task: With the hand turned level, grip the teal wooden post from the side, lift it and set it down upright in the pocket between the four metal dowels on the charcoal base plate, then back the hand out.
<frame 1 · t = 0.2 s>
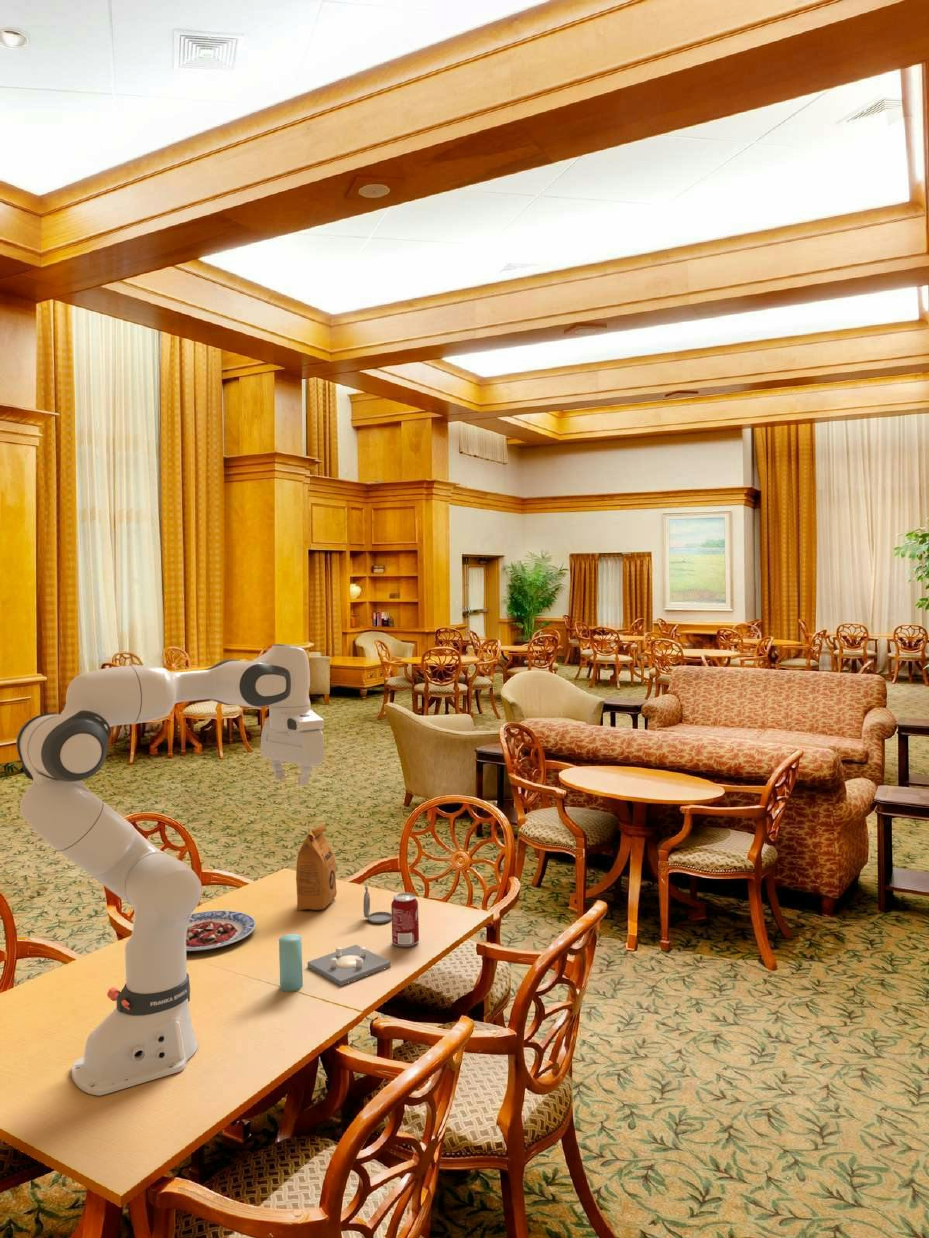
hand: (291, 782, 182), 48 cm above the table, tool pointing down, fingers open, 8 cm apart
coffee package: (317, 905, 240), on the table
ceramic plate: (205, 937, 219), on the table
pocket watch: (375, 920, 228), on the table
teal post: (291, 986, 190), on the table
dowel seat: (348, 966, 199), on the table
soda can: (405, 943, 212), on the table
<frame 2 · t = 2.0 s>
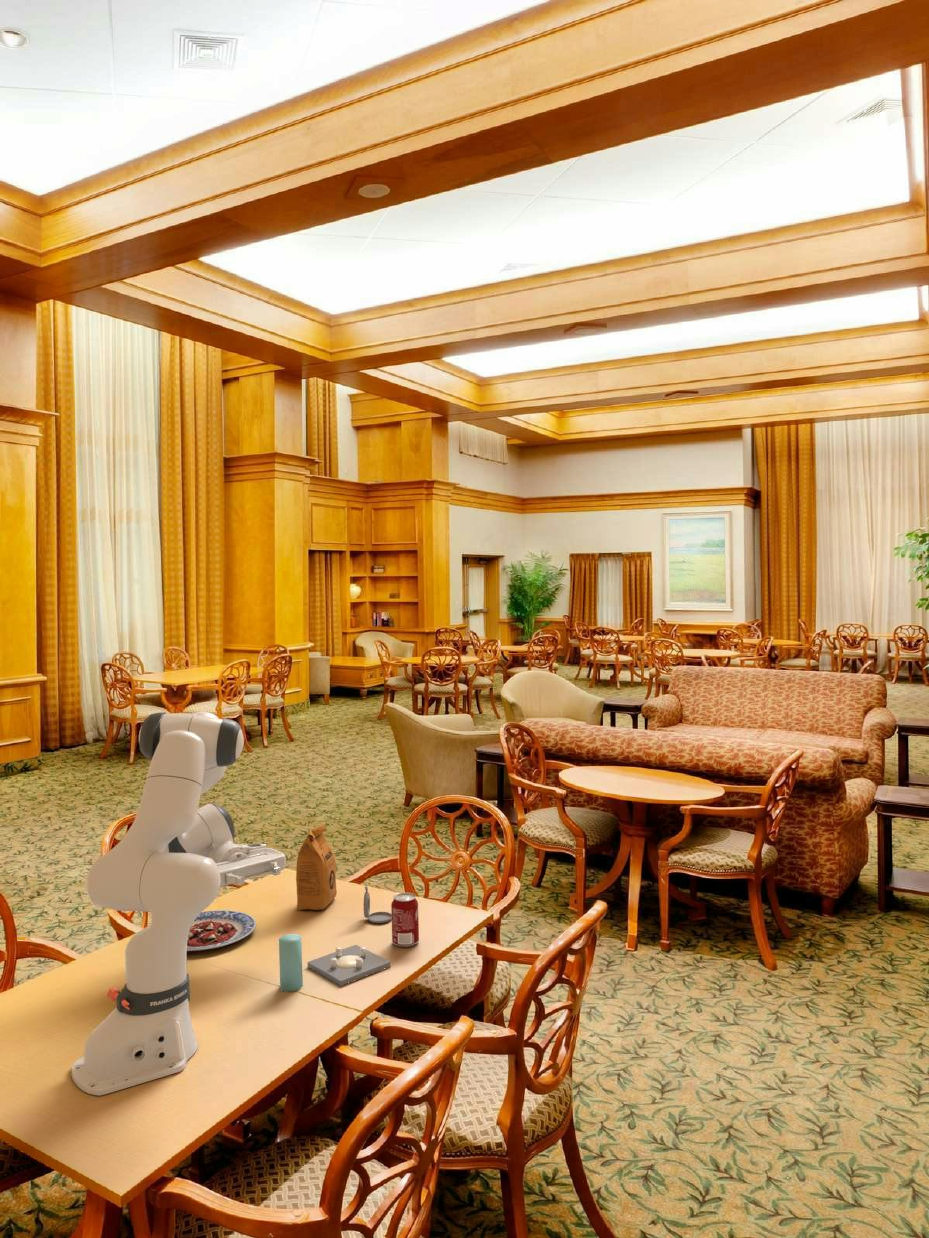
hand: (260, 876, 199), 22 cm above the table, tool horizontal, fingers open, 8 cm apart
nothing on the table moved.
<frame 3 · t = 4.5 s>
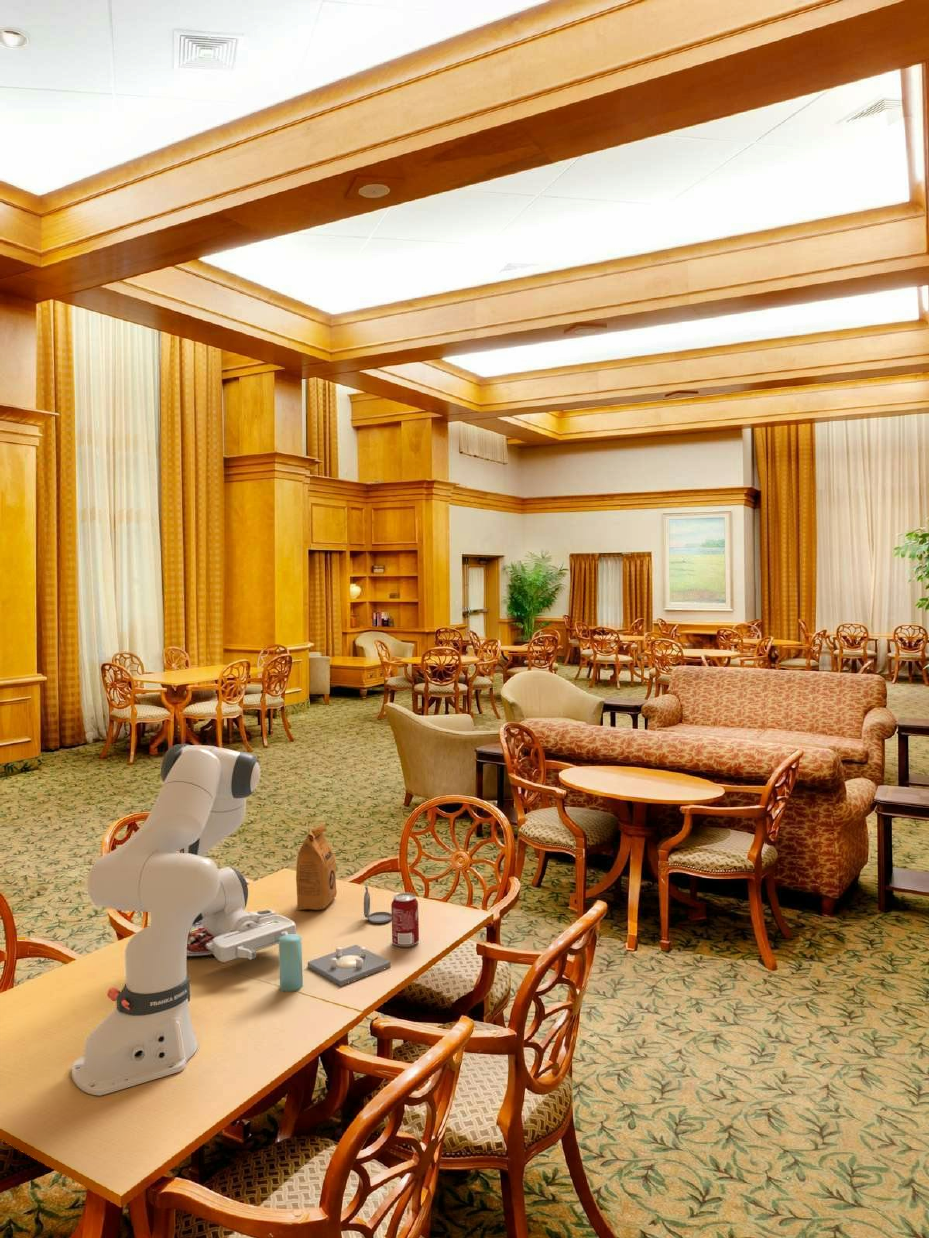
hand: (271, 948, 196), 6 cm above the table, tool horizontal, fingers open, 8 cm apart
ceramic plate: (208, 942, 217), on the table, touching arm
everything else where it was.
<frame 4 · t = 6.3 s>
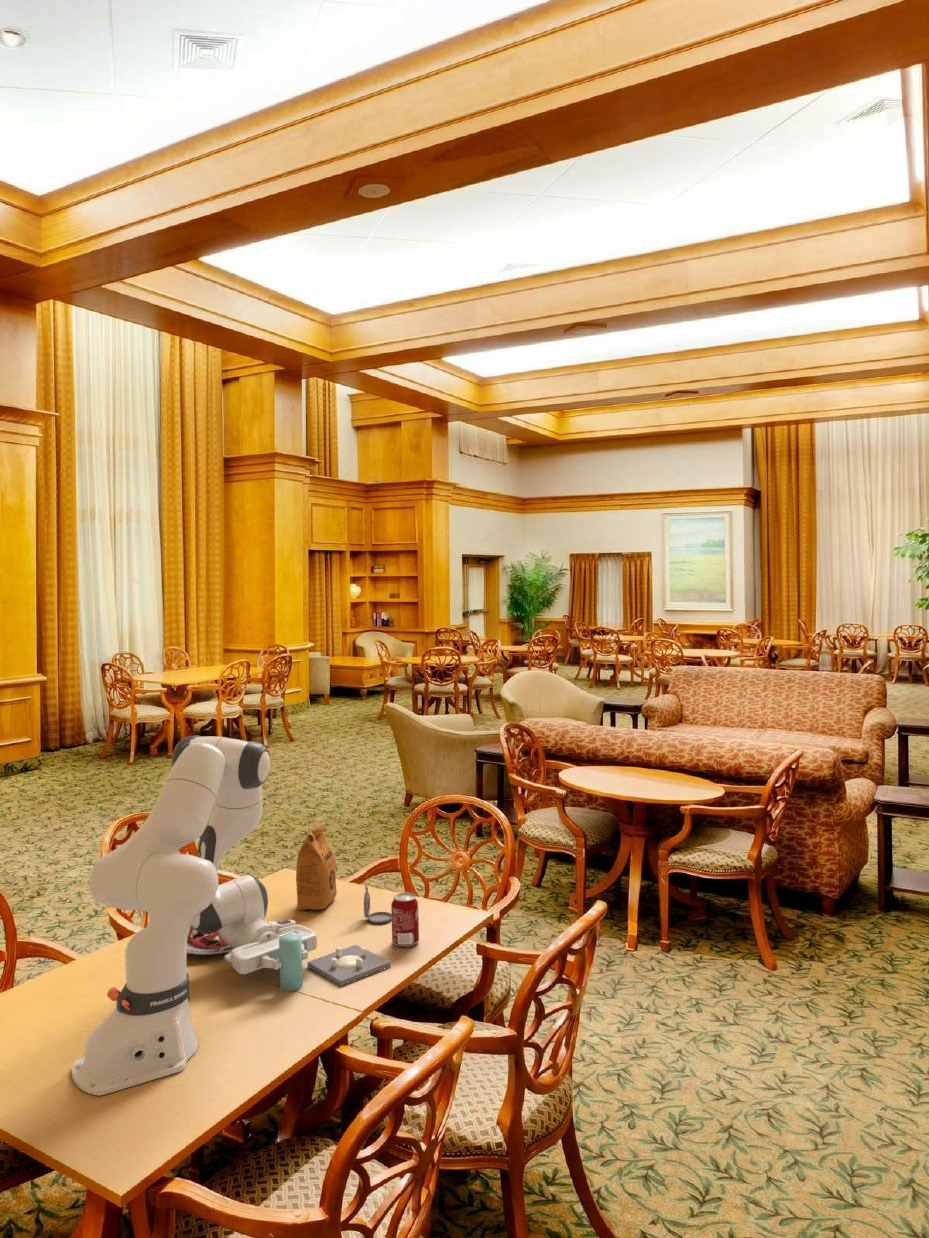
hand: (292, 960, 189), 6 cm above the table, tool horizontal, fingers open, 5 cm apart
ceramic plate: (209, 935, 216), point 1 cm above the table, touching arm
teal post: (291, 986, 190), on the table, touching gripper
everything else where it was.
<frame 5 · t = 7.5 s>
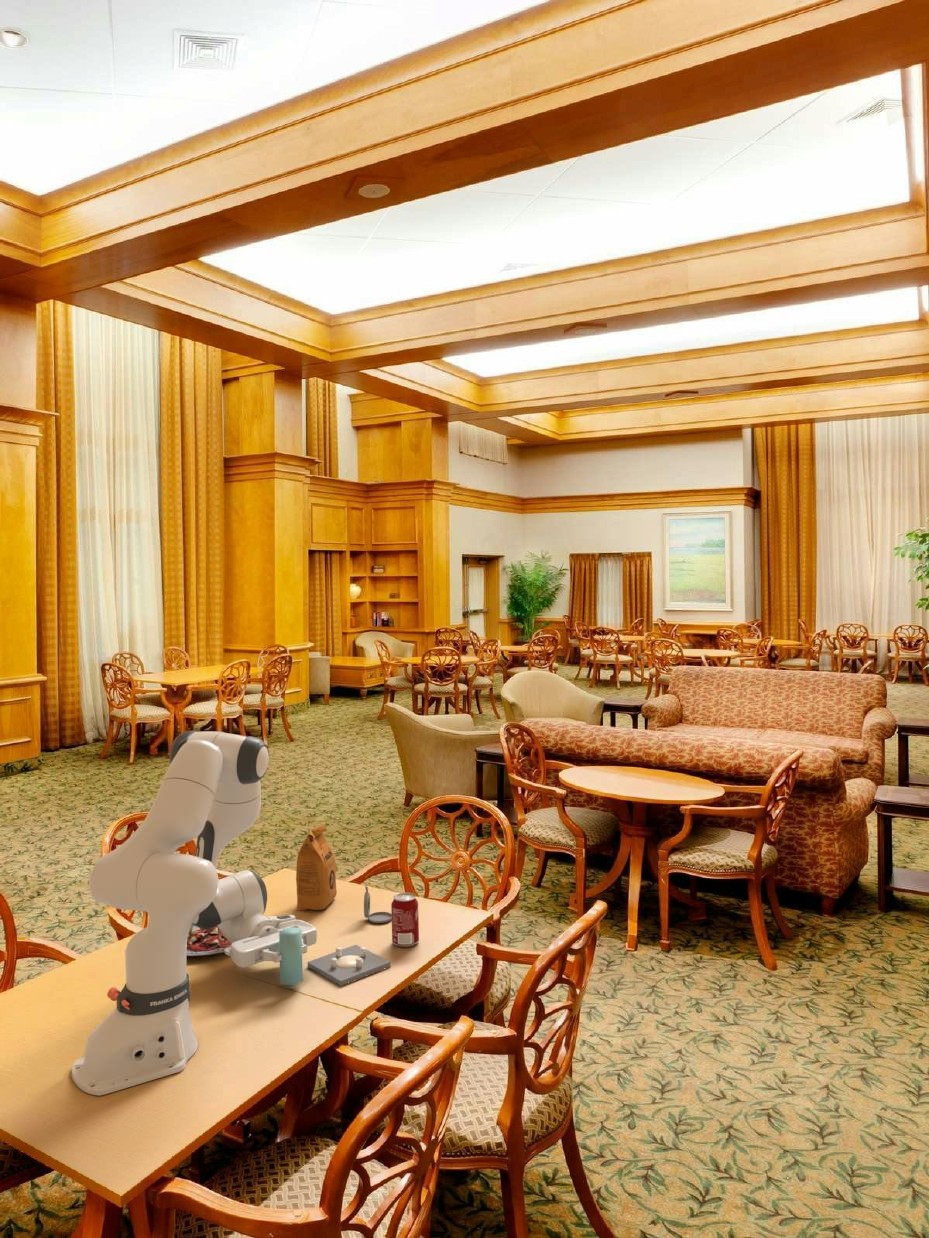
hand: (292, 954, 188), 8 cm above the table, tool horizontal, fingers closed on teal post, 5 cm apart
ceramic plate: (209, 942, 216), on the table
teal post: (291, 980, 189), point 2 cm above the table, touching gripper
everything else where it was.
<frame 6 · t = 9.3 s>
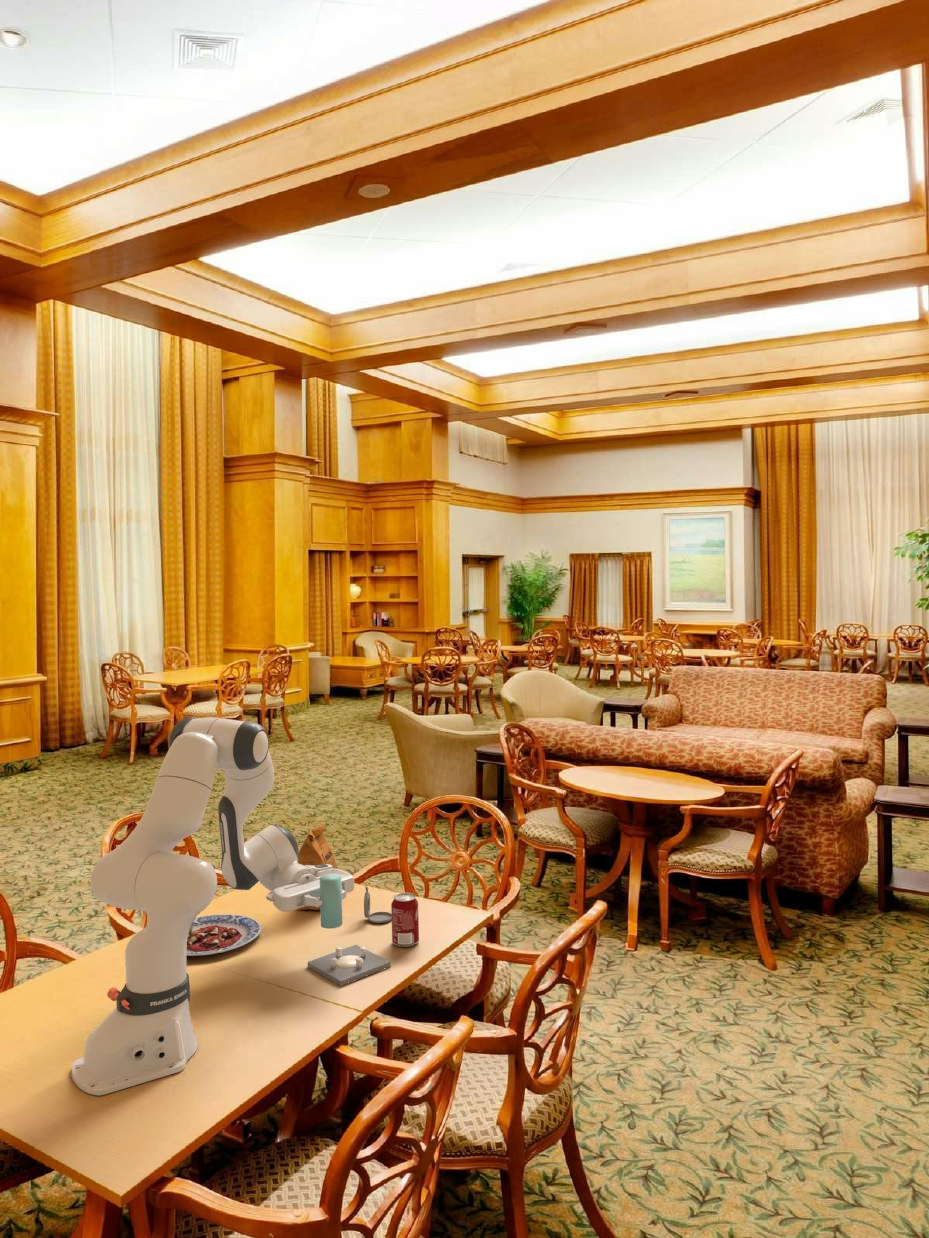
hand: (332, 899, 195), 17 cm above the table, tool horizontal, fingers closed on teal post, 5 cm apart
teal post: (331, 924, 196), point 11 cm above the table, touching gripper
everything else where it was.
when the fingers open (8 cm above the table, at t = 12.2 s): teal post drops 1 cm, resting on dowel seat.
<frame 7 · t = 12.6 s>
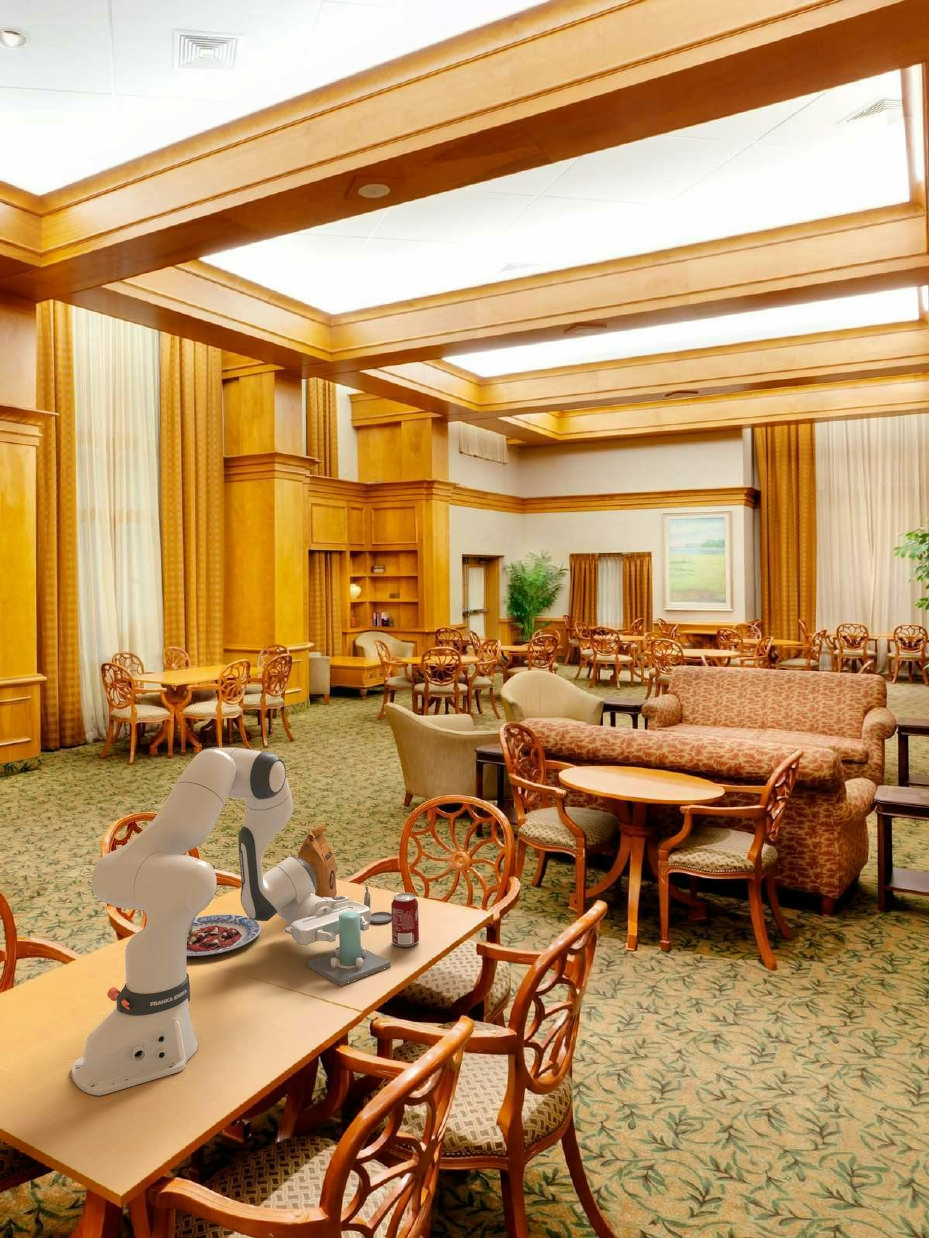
hand: (350, 932, 198), 8 cm above the table, tool horizontal, fingers open, 8 cm apart
teal post: (350, 961, 199), point 1 cm above the table, touching dowel seat
everything else where it was.
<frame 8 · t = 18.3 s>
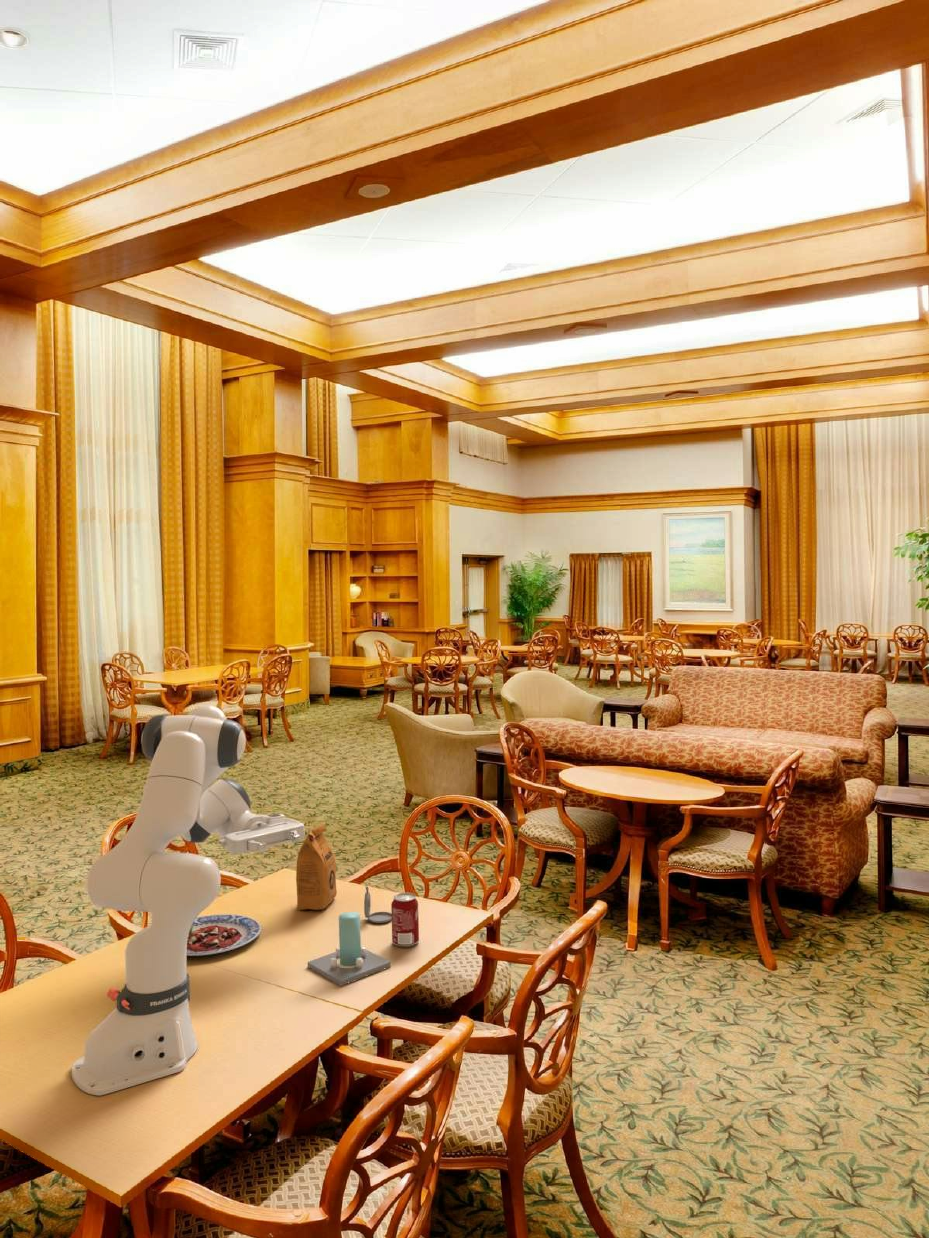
hand: (281, 843, 205), 28 cm above the table, tool horizontal, fingers open, 8 cm apart
nothing on the table moved.
at the end: teal post 0.4 cm off-centre on the dowel seat, point 1.3 cm above the dowel seat's base; teal post tilted 0°; the gripper is holding nothing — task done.
